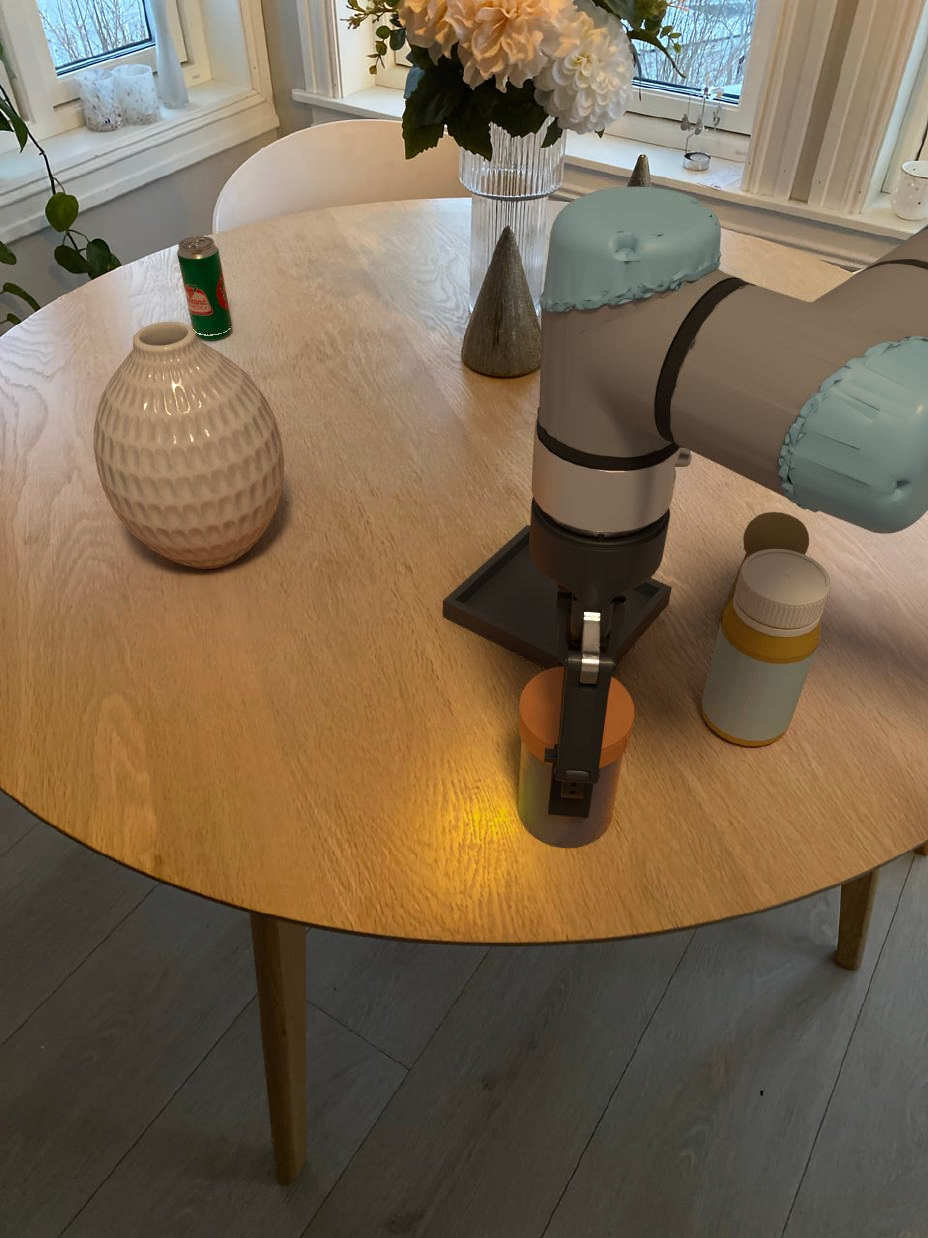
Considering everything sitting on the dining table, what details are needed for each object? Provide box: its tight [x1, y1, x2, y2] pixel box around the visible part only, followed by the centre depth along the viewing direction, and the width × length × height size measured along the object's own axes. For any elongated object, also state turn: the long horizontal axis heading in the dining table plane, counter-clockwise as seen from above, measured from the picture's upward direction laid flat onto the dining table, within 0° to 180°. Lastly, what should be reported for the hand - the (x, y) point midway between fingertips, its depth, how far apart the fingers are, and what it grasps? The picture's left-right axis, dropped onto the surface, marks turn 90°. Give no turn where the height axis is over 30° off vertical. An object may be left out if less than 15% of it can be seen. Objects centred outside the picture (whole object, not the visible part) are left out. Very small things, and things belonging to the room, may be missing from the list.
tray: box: [442, 524, 673, 670], centre depth 86 cm, size 16×14×2 cm
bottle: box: [700, 549, 832, 747], centre depth 72 cm, size 7×7×15 cm
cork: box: [718, 511, 810, 625], centre depth 82 cm, size 6×6×11 cm
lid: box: [518, 666, 635, 768], centre depth 64 cm, size 8×8×2 cm
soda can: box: [176, 235, 233, 342], centre depth 122 cm, size 5×5×12 cm
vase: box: [93, 321, 285, 570], centre depth 86 cm, size 16×16×22 cm
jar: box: [517, 740, 624, 849], centre depth 67 cm, size 7×7×11 cm
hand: (570, 763), depth 67 cm, fingers closed on lid, 7 cm apart
